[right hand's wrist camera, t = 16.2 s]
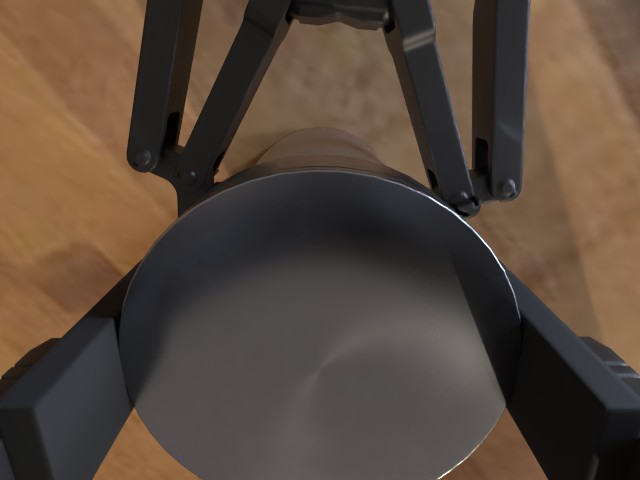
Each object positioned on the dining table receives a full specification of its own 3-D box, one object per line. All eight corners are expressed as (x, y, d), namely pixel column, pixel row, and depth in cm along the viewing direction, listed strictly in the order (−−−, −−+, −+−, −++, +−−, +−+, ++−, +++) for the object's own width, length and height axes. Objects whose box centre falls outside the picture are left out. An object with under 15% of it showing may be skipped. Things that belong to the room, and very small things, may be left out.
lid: (481, 122, 10) (521, 131, 8) (493, 429, 14) (523, 488, 12) (103, 188, 11) (54, 211, 9) (202, 468, 14) (182, 531, 12)
